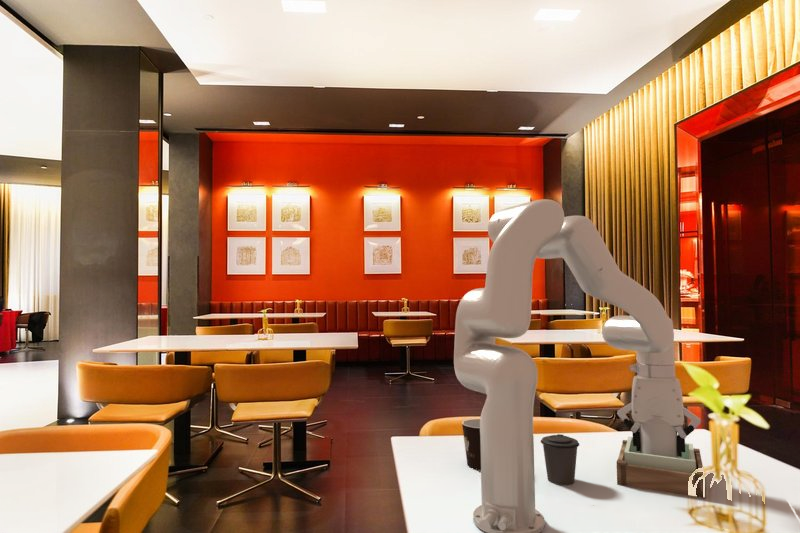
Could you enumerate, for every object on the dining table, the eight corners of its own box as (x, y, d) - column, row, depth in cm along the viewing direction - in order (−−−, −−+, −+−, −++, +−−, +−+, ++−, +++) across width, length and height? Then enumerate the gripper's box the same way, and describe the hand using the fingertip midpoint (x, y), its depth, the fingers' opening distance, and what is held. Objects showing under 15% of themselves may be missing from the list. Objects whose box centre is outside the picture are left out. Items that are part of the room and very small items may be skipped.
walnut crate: (706, 502, 96) (704, 474, 97) (617, 488, 104) (616, 462, 104) (700, 473, 112) (699, 449, 112) (623, 462, 120) (623, 439, 120)
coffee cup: (568, 476, 111) (567, 431, 112) (588, 489, 103) (586, 441, 104) (535, 478, 110) (534, 433, 110) (552, 492, 102) (551, 443, 102)
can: (669, 462, 111) (667, 408, 112) (685, 474, 104) (683, 416, 105) (635, 461, 112) (633, 408, 113) (648, 473, 105) (646, 415, 105)
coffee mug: (464, 458, 124) (463, 418, 124) (498, 460, 122) (498, 419, 123) (460, 474, 112) (459, 430, 113) (498, 477, 111) (497, 432, 111)
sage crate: (697, 492, 99) (695, 461, 99) (625, 481, 105) (624, 452, 106) (693, 471, 111) (692, 443, 111) (629, 462, 117) (628, 436, 117)
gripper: (611, 371, 110) (614, 451, 109) (702, 376, 102) (706, 463, 101) (614, 366, 117) (617, 442, 116) (700, 371, 108) (703, 453, 107)
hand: (658, 451), depth 108 cm, fingers closed on can, 7 cm apart
